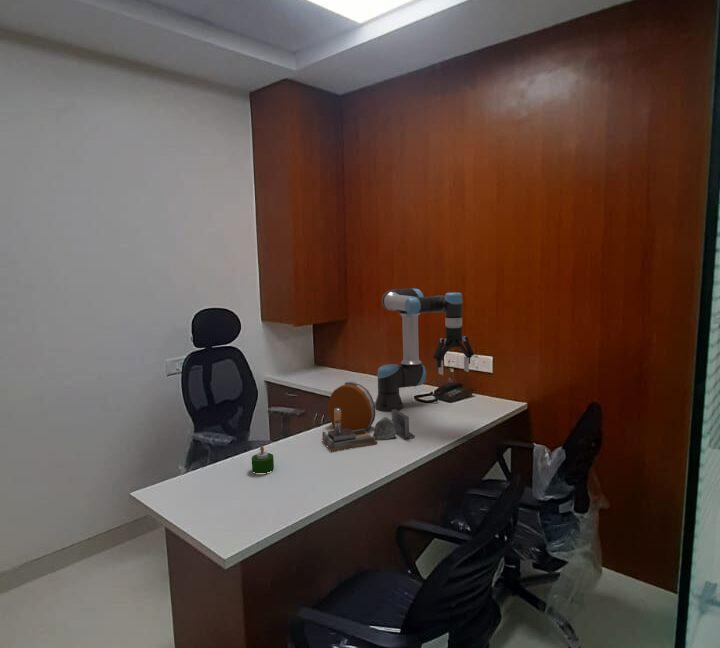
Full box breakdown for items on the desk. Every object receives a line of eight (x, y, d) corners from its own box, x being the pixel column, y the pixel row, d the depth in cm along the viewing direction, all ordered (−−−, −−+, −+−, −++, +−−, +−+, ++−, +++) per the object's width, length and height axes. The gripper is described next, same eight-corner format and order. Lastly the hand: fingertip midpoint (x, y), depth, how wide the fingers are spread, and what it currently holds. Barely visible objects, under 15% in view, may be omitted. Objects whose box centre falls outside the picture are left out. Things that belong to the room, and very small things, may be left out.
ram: (328, 439, 216) (327, 407, 215) (349, 435, 220) (348, 404, 218) (333, 445, 209) (332, 412, 207) (355, 441, 212) (354, 409, 210)
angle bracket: (392, 430, 231) (391, 409, 229) (401, 428, 232) (401, 408, 231) (405, 439, 218) (404, 418, 216) (415, 437, 219) (414, 416, 218)
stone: (385, 418, 215) (388, 411, 225) (368, 432, 218) (372, 424, 228) (399, 435, 215) (401, 427, 225) (382, 448, 218) (385, 439, 227)
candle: (263, 476, 183) (262, 451, 182) (247, 472, 187) (246, 447, 186) (278, 468, 190) (277, 444, 189) (262, 464, 194) (261, 440, 193)
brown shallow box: (322, 440, 219) (321, 431, 218) (365, 434, 226) (365, 425, 225) (331, 451, 206) (331, 442, 205) (377, 444, 213) (377, 434, 212)
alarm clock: (377, 426, 236) (376, 381, 233) (369, 433, 227) (368, 385, 225) (337, 421, 245) (336, 377, 243) (328, 427, 237) (326, 382, 234)
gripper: (433, 329, 212) (434, 377, 214) (481, 325, 221) (481, 371, 223) (425, 327, 219) (425, 373, 221) (472, 324, 228) (472, 368, 230)
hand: (453, 372), depth 222 cm, fingers open, 13 cm apart
